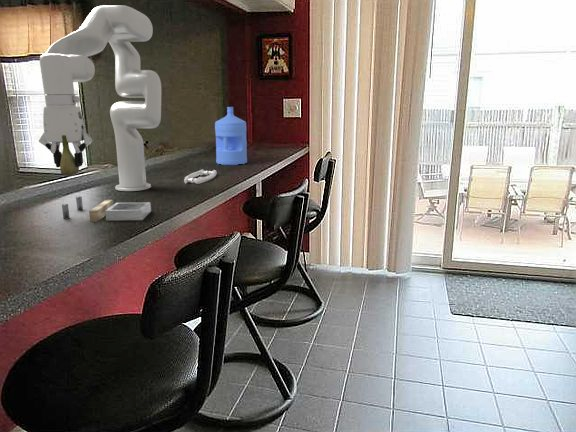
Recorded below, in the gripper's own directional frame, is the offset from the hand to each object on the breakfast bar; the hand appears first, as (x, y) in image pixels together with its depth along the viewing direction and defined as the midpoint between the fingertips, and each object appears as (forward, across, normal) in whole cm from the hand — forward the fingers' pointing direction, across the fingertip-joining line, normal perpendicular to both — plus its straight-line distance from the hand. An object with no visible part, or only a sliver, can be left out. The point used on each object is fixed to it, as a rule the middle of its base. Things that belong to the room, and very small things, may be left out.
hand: (69, 165), depth 134 cm
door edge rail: (+14, -9, +3) cm, 17 cm away
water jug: (+18, -39, -101) cm, 109 cm away
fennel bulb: (+3, 0, 0) cm, 3 cm away
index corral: (+14, -17, +4) cm, 22 cm away
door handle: (+17, -29, -57) cm, 66 cm away
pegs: (+14, 0, +1) cm, 14 cm away
